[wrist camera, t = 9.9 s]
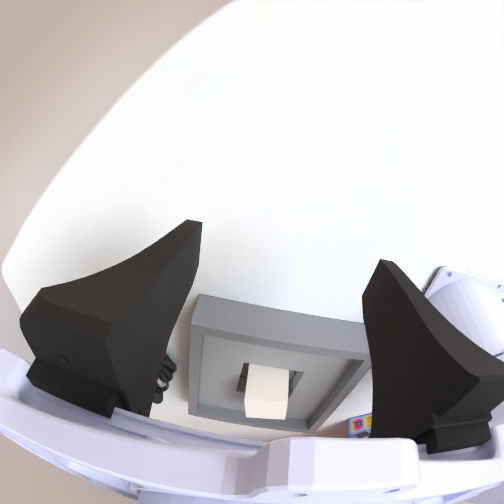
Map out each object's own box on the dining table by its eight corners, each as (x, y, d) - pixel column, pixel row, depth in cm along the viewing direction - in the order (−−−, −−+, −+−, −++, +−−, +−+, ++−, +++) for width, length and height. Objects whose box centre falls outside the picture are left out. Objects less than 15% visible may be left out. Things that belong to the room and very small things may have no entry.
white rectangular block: (289, 356, 31) (287, 402, 26) (287, 376, 33) (285, 419, 28) (250, 354, 31) (244, 399, 27) (251, 374, 33) (246, 417, 29)
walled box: (373, 324, 27) (379, 354, 24) (313, 410, 37) (313, 433, 34) (200, 293, 27) (190, 323, 24) (194, 391, 37) (188, 414, 34)
